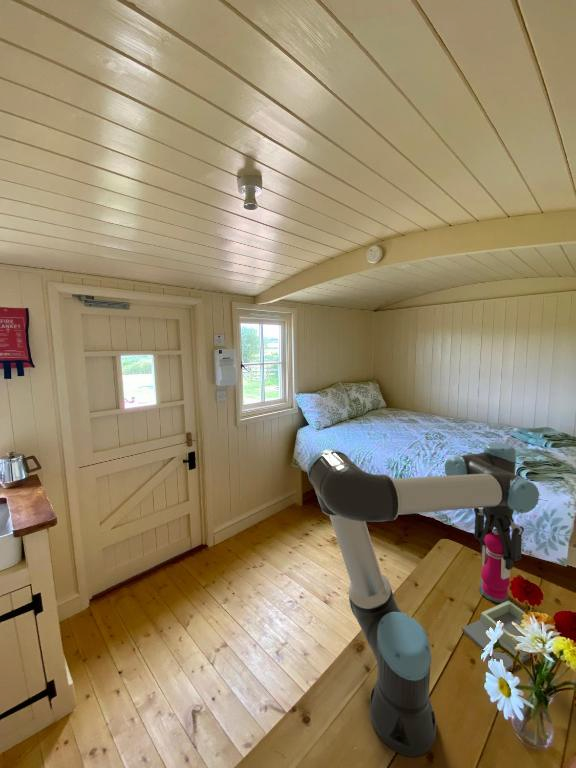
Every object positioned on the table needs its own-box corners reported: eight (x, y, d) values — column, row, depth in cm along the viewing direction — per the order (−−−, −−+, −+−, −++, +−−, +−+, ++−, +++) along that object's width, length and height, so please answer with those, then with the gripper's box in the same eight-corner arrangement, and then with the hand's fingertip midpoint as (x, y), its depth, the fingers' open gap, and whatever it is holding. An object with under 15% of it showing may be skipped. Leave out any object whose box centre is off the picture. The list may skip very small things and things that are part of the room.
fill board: (505, 671, 89) (506, 658, 89) (461, 630, 102) (462, 619, 102) (552, 645, 96) (554, 633, 96) (506, 610, 109) (507, 599, 109)
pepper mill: (484, 598, 95) (486, 534, 92) (477, 580, 102) (479, 521, 99) (512, 603, 93) (515, 537, 90) (504, 584, 99) (506, 523, 97)
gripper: (541, 508, 86) (536, 587, 89) (478, 482, 103) (476, 549, 106) (522, 514, 83) (518, 596, 86) (461, 487, 100) (459, 556, 103)
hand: (495, 570), depth 96 cm, fingers closed on pepper mill, 5 cm apart
